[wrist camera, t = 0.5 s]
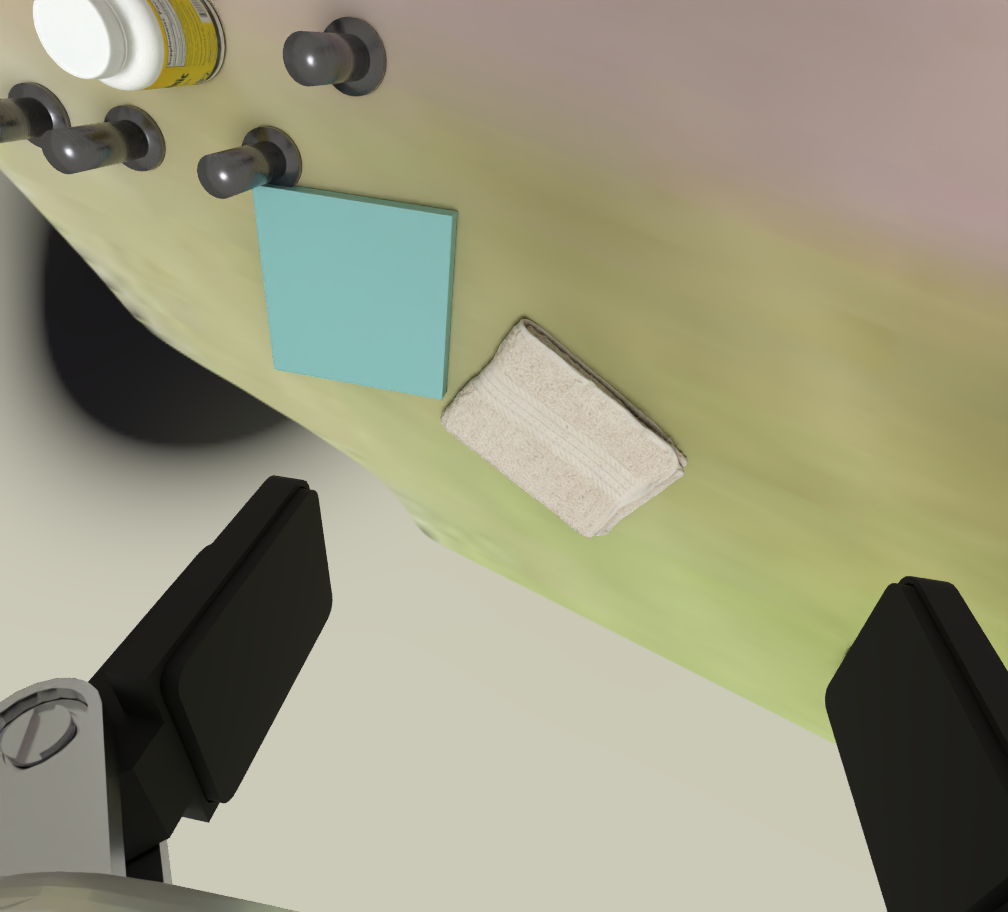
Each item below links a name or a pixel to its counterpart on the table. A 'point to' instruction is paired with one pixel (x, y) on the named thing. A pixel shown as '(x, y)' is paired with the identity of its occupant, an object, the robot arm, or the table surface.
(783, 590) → the table surface
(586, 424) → the washcloth
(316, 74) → the spacer field
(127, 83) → the supplement bottle
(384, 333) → the teal pad
